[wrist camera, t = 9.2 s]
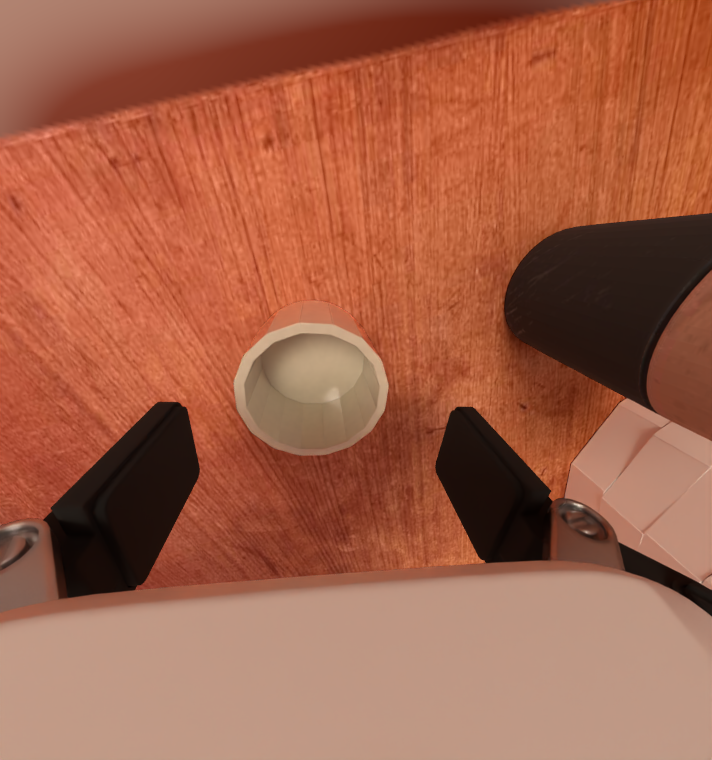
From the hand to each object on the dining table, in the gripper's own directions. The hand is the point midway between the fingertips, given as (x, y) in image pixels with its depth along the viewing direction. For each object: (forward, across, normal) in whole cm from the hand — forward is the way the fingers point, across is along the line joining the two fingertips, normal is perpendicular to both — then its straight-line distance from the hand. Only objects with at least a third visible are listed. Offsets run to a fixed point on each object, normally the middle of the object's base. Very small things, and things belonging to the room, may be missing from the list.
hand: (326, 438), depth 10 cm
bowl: (+8, +1, 0) cm, 8 cm away
